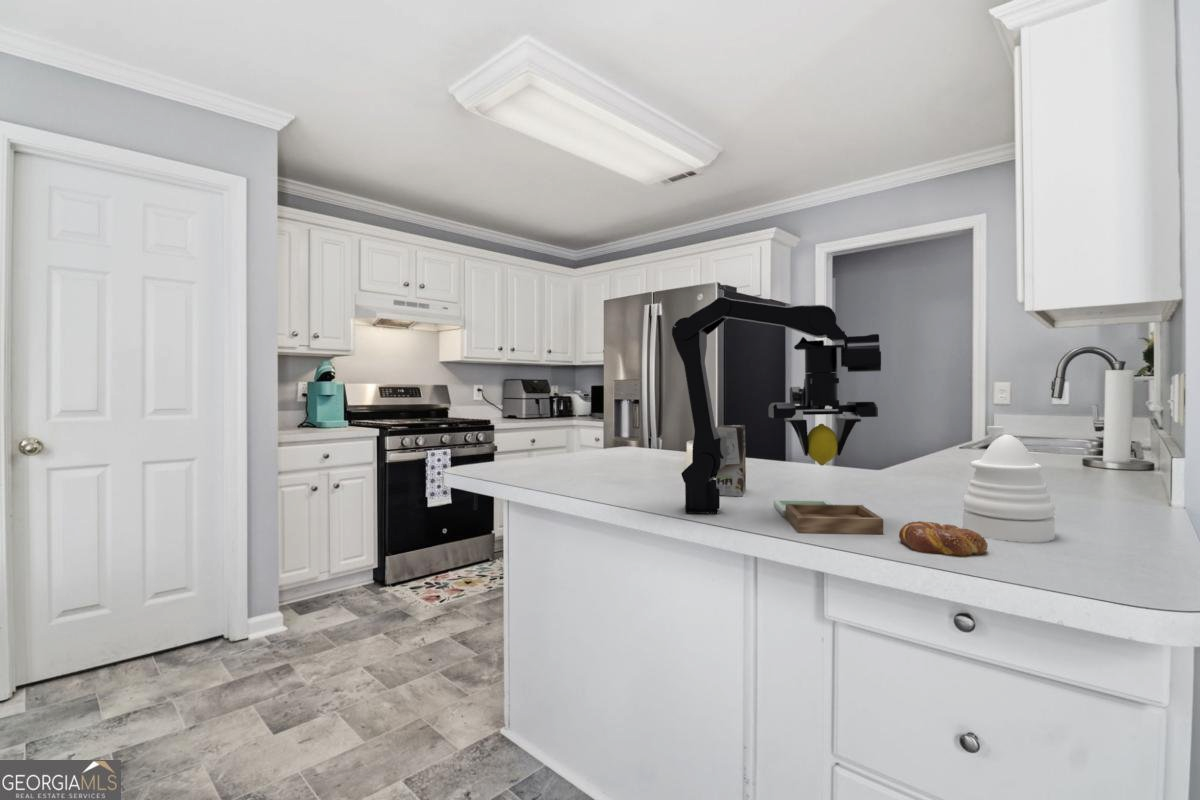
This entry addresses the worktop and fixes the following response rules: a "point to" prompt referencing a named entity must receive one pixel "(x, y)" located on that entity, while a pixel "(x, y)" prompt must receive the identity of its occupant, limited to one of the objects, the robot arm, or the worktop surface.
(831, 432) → the lemon
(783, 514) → the dish
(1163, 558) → the worktop surface
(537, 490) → the worktop surface
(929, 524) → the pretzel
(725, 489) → the coffee box
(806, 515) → the tray
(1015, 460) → the honey pot
